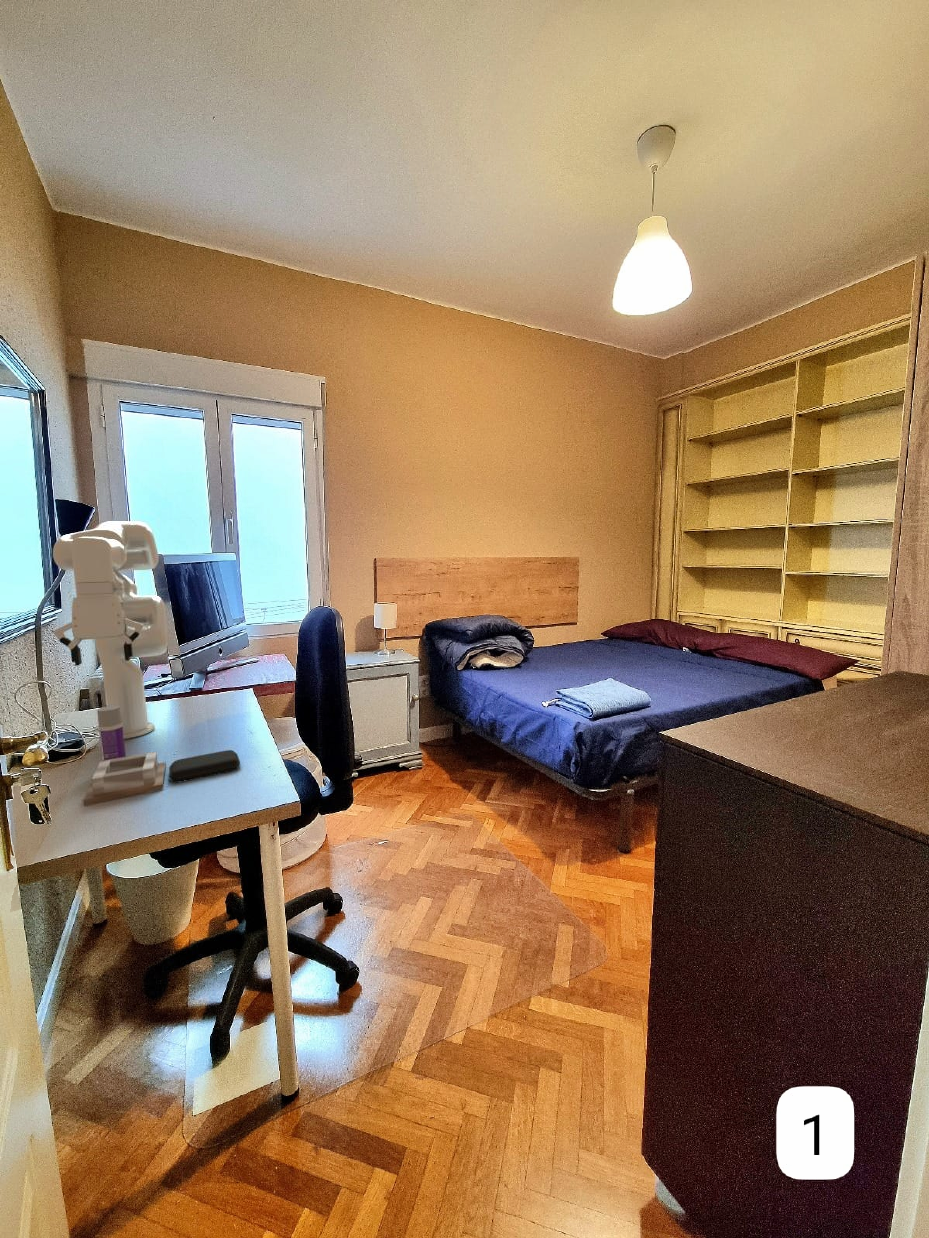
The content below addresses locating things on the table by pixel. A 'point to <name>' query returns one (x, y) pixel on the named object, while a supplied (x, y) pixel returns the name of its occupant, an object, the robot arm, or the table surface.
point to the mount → (126, 778)
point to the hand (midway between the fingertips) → (103, 662)
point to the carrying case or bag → (203, 765)
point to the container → (111, 732)
